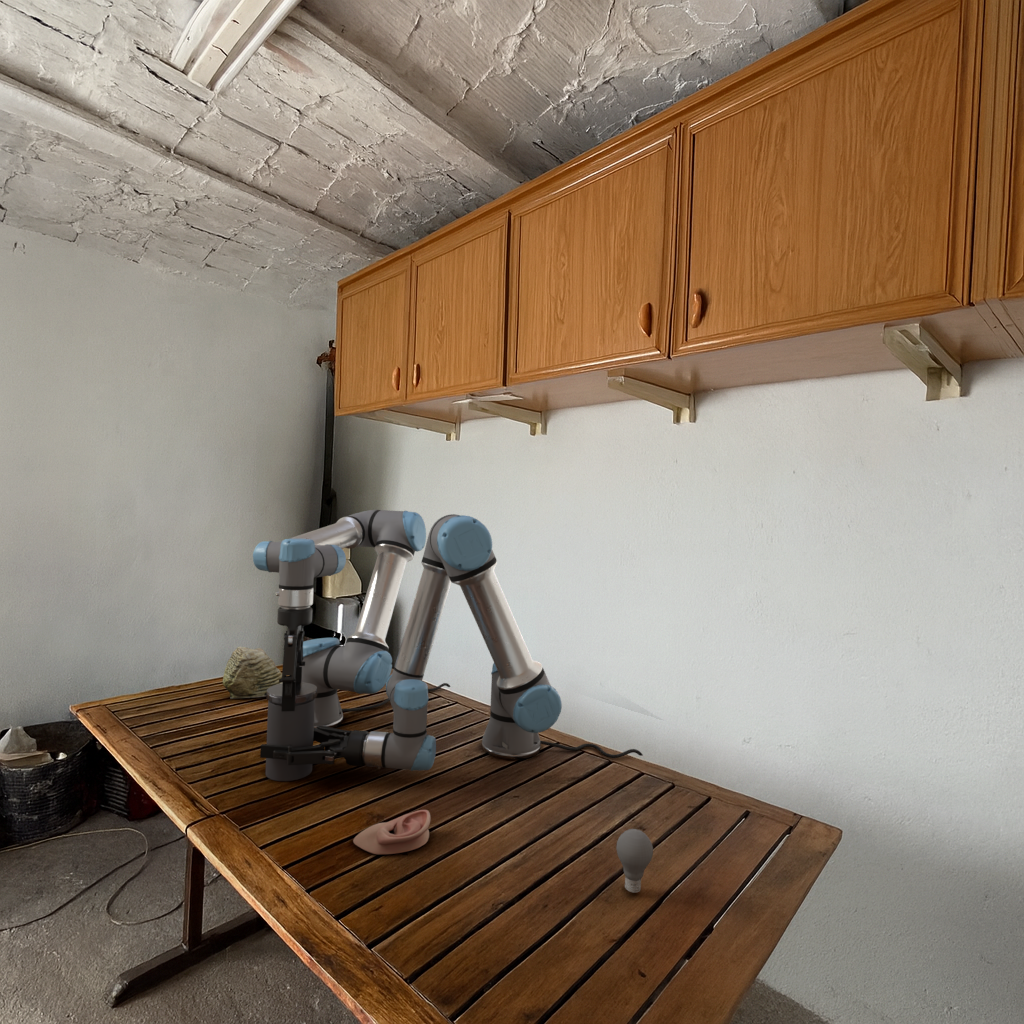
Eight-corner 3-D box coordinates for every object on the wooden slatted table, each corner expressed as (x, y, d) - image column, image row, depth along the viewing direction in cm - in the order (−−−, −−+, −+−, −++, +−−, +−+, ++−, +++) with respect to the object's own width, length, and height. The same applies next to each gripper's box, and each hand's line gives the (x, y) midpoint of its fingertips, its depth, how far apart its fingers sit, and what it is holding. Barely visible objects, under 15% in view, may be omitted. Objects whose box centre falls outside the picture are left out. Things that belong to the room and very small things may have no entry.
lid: (326, 693, 148) (327, 686, 148) (294, 707, 138) (294, 699, 138) (290, 686, 152) (290, 679, 152) (255, 699, 142) (256, 691, 142)
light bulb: (610, 879, 108) (613, 822, 108) (644, 879, 109) (647, 822, 109) (619, 902, 102) (622, 840, 102) (655, 901, 103) (658, 840, 103)
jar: (288, 759, 152) (291, 683, 152) (321, 768, 148) (324, 690, 147) (255, 775, 143) (258, 694, 142) (290, 785, 138) (293, 702, 138)
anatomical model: (346, 827, 114) (372, 798, 125) (345, 849, 114) (372, 818, 125) (416, 839, 111) (436, 808, 122) (415, 861, 111) (436, 828, 123)
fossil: (218, 695, 195) (220, 647, 195) (278, 685, 208) (279, 640, 207) (228, 703, 189) (230, 653, 188) (289, 692, 201) (290, 645, 201)
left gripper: (285, 598, 155) (281, 687, 155) (269, 616, 132) (265, 720, 133) (317, 598, 157) (313, 686, 157) (306, 616, 134) (302, 719, 134)
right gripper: (349, 787, 132) (247, 779, 134) (380, 745, 155) (292, 739, 157) (351, 751, 132) (248, 744, 134) (381, 715, 155) (293, 709, 157)
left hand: (291, 702), depth 145 cm, fingers closed on lid, 11 cm apart
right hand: (272, 741), depth 145 cm, fingers closed on jar, 10 cm apart
